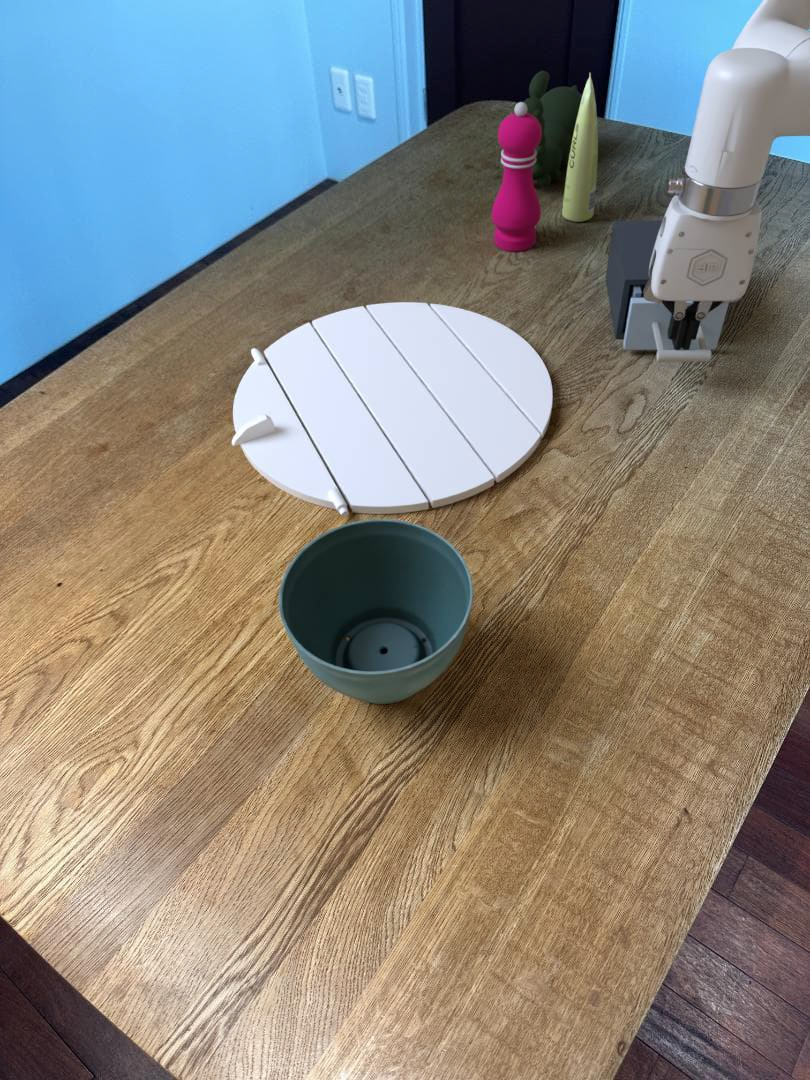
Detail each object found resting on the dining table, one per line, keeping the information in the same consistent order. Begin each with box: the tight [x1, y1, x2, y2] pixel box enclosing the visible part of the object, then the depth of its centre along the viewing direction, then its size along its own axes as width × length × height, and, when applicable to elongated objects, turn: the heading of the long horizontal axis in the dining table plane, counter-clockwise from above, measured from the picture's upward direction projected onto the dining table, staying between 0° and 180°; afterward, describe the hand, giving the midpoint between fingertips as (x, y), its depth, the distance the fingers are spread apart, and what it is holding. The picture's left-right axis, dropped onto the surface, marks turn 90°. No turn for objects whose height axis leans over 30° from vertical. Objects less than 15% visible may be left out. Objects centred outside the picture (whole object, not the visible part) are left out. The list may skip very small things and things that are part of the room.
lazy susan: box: [231, 301, 554, 518], centre depth 99 cm, size 40×39×3 cm
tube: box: [561, 71, 599, 223], centre depth 121 cm, size 6×5×20 cm
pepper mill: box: [491, 101, 542, 253], centre depth 116 cm, size 7×7×20 cm
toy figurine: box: [522, 70, 583, 188], centre depth 133 cm, size 9×19×25 cm
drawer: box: [622, 285, 730, 363], centre depth 102 cm, size 21×11×7 cm, turn 176°
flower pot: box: [278, 518, 474, 705], centre depth 71 cm, size 16×16×11 cm
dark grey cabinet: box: [605, 219, 663, 339], centre depth 107 cm, size 15×13×9 cm
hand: (679, 343), depth 96 cm, fingers closed
